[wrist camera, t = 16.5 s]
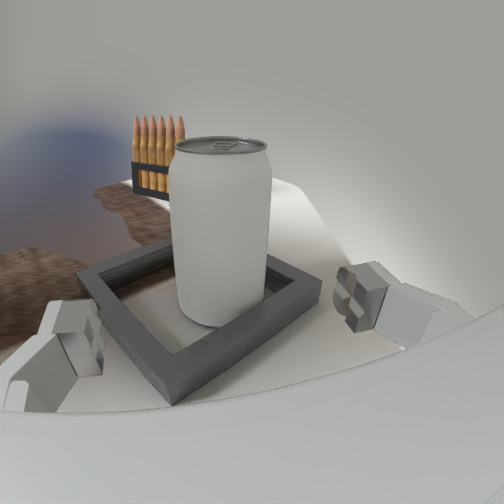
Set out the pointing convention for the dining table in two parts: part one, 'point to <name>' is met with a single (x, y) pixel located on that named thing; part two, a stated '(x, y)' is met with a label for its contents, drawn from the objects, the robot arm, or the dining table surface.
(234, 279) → the can
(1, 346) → the dining table surface
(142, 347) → the dark grey square frame
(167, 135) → the ammunition clip
